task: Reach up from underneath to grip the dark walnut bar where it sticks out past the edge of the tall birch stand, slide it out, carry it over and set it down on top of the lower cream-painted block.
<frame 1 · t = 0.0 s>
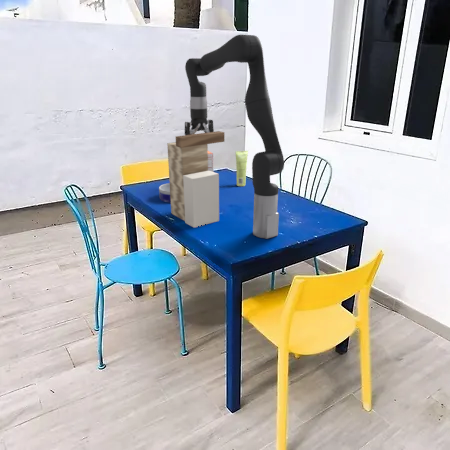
hand: (199, 144, 179), 29 cm above the table, tool pointing down, fingers open, 8 cm apart
cracker box: (204, 188, 215), on the table
tube: (241, 185, 220), on the table
walnut bar: (200, 143, 165), point 32 cm above the table, touching birch stand
birch stand: (190, 214, 178), on the table
dog bowl: (174, 198, 200), on the table
cream block: (202, 221, 169), on the table
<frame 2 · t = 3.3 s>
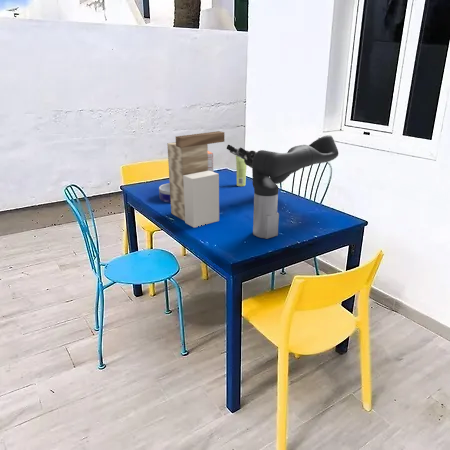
hand: (233, 148, 176), 28 cm above the table, tool pointing upward, fingers open, 8 cm apart
nothing on the table moved.
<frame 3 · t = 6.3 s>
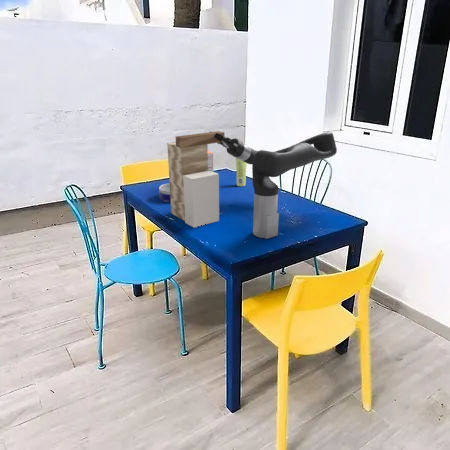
hand: (212, 134, 167), 35 cm above the table, tool pointing upward, fingers closed on walnut bar, 4 cm apart
walnut bar: (200, 143, 165), point 32 cm above the table, touching birch stand, gripper
everything else where it was.
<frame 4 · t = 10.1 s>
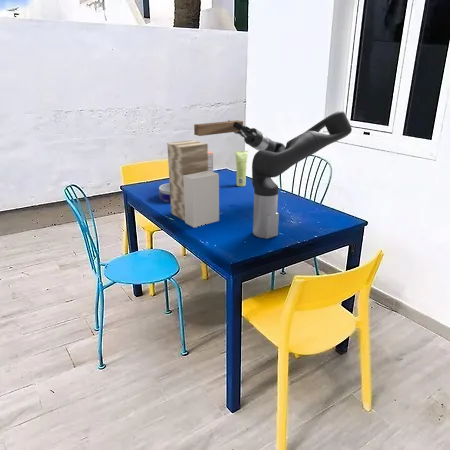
hand: (231, 123, 164), 40 cm above the table, tool pointing upward, fingers closed on walnut bar, 4 cm apart
walnut bar: (219, 132, 162), point 37 cm above the table, touching gripper
everything else where it was.
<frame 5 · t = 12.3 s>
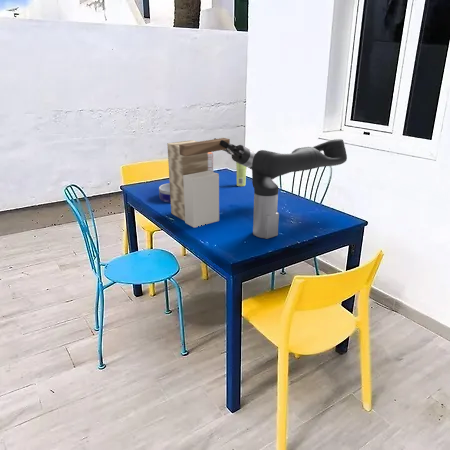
hand: (217, 141, 161), 34 cm above the table, tool pointing upward, fingers closed on walnut bar, 4 cm apart
walnut bar: (205, 151, 159), point 30 cm above the table, touching gripper
everything else where it was.
when the fingers open (26 cm above the table, at t = 14.0 s): walnut bar drops 2 cm, resting on cream block.
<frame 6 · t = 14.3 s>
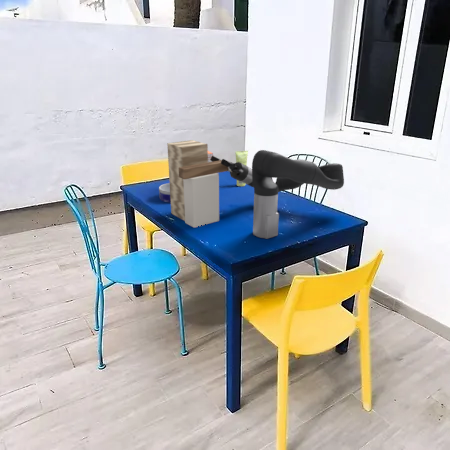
hand: (216, 159, 164), 26 cm above the table, tool pointing upward, fingers open, 6 cm apart
walnut bar: (204, 173, 162), point 21 cm above the table, touching cream block
everything else where it was.
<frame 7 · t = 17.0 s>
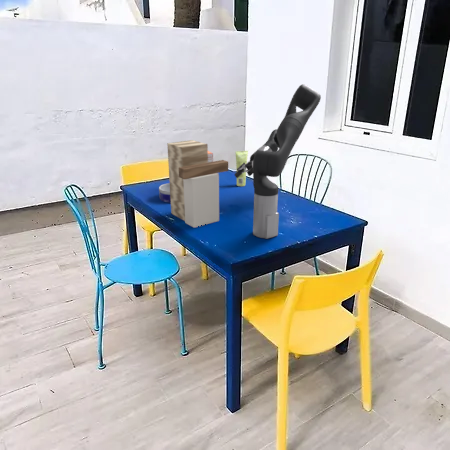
hand: (241, 175, 179), 16 cm above the table, tool tilted 70°, fingers open, 8 cm apart
nothing on the table moved.
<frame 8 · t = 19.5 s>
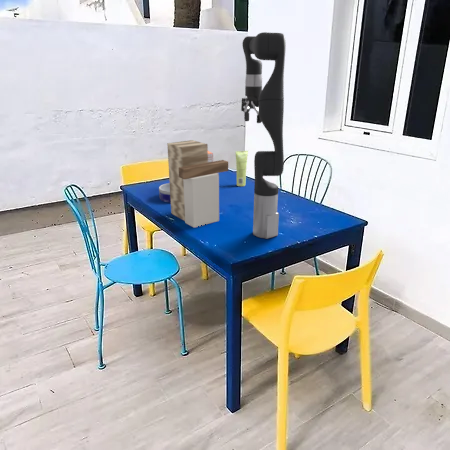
hand: (252, 122, 183), 38 cm above the table, tool pointing down, fingers open, 8 cm apart
nothing on the table moved.
at the end: walnut bar inside the target area on the cream block (0.1 cm from its centre), point 21.0 cm above the cream block's base; walnut bar touching cream block; the gripper is holding nothing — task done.
